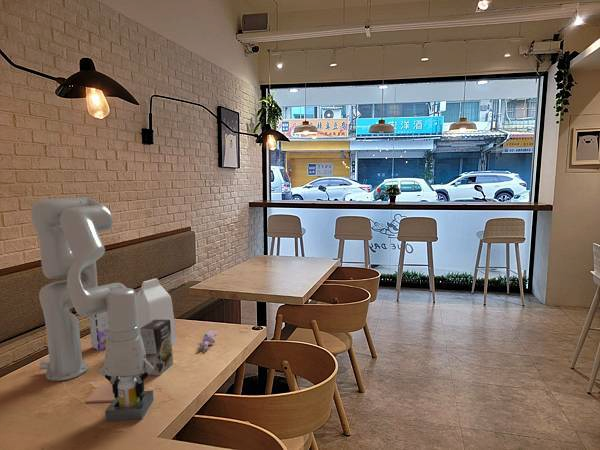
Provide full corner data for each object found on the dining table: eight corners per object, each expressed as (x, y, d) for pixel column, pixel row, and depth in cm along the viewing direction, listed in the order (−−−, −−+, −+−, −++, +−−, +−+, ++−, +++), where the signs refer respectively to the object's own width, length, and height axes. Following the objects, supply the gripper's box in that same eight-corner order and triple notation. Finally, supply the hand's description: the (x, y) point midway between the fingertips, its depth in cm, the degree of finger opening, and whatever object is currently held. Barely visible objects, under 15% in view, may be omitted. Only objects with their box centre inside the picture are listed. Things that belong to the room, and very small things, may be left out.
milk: (152, 353, 153) (147, 285, 150) (132, 347, 159) (127, 282, 156) (177, 342, 164) (173, 278, 160) (157, 336, 170) (153, 275, 166)
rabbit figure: (209, 356, 152) (222, 335, 167) (207, 342, 151) (220, 322, 165) (193, 356, 153) (207, 334, 168) (191, 342, 152) (205, 321, 166)
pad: (86, 402, 121) (85, 400, 121) (101, 385, 131) (101, 383, 130) (120, 401, 121) (120, 399, 121) (133, 384, 131) (133, 382, 131)
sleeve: (106, 420, 111) (105, 410, 111) (120, 401, 121) (119, 391, 120) (142, 419, 111) (141, 409, 111) (153, 400, 121) (152, 390, 120)
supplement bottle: (141, 399, 119) (139, 368, 118) (138, 410, 114) (135, 377, 113) (121, 402, 118) (118, 370, 117) (117, 412, 113) (114, 379, 112)
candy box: (125, 336, 171) (122, 298, 169) (132, 339, 167) (129, 300, 166) (91, 347, 161) (87, 306, 159) (98, 351, 157) (94, 309, 155)
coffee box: (160, 376, 136) (156, 329, 134) (142, 374, 137) (139, 328, 135) (174, 363, 145) (171, 319, 143) (157, 362, 146) (154, 318, 144)
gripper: (86, 339, 109) (91, 403, 112) (150, 337, 110) (155, 401, 112) (99, 329, 117) (104, 389, 119) (159, 327, 117) (163, 387, 120)
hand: (128, 394), depth 116 cm, fingers closed on supplement bottle, 5 cm apart
